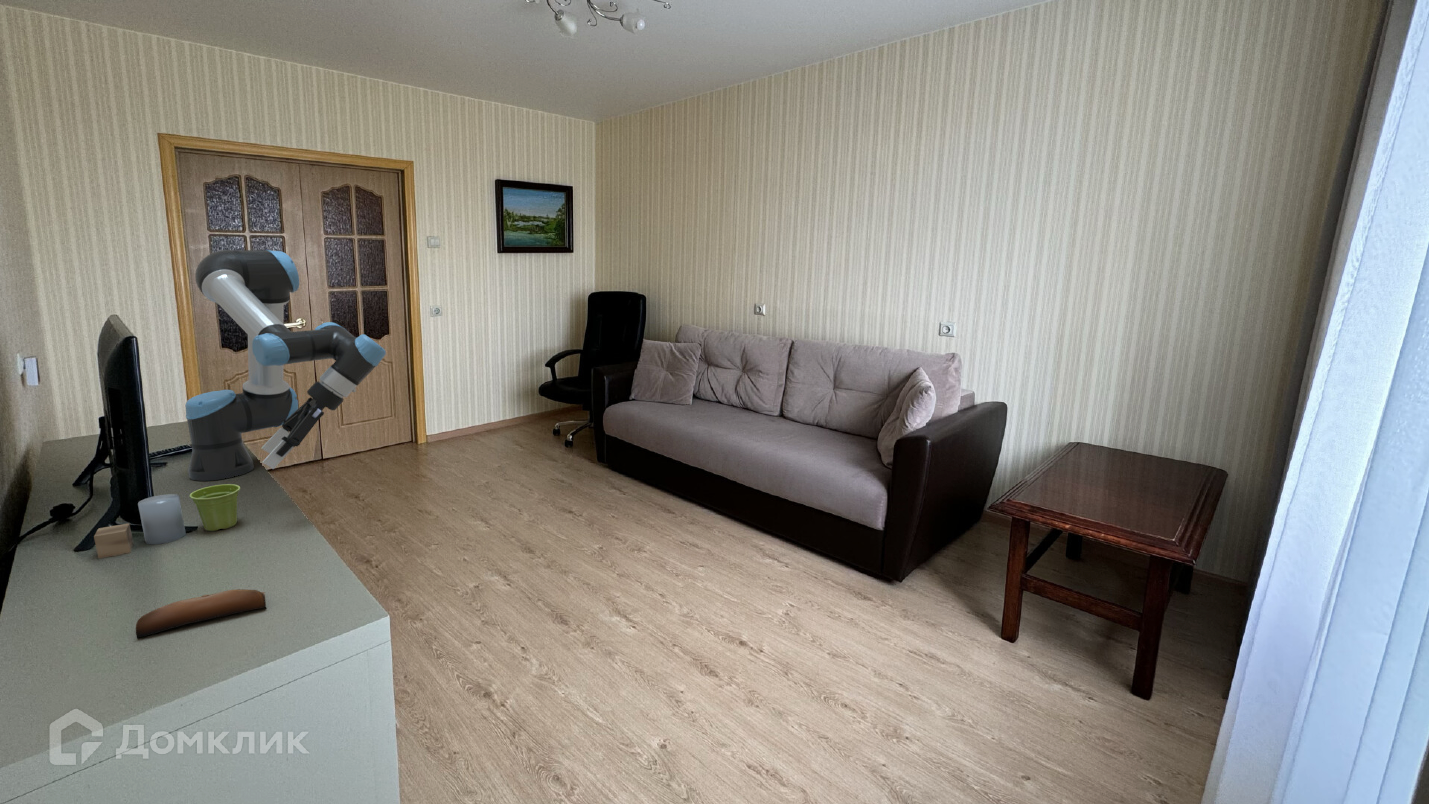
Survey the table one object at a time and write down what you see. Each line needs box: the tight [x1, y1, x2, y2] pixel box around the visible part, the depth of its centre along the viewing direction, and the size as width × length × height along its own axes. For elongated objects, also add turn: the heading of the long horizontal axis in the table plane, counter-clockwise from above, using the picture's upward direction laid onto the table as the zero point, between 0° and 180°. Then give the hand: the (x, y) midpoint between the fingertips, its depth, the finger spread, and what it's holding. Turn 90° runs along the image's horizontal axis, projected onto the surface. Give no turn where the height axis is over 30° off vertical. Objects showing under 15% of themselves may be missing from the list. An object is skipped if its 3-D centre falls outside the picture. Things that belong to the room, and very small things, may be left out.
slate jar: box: [137, 493, 187, 545], centre depth 147 cm, size 7×7×9 cm
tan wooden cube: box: [93, 523, 134, 559], centre depth 140 cm, size 5×5×5 cm
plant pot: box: [189, 483, 241, 532], centre depth 153 cm, size 9×9×9 cm
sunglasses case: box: [135, 588, 268, 639], centre depth 116 cm, size 18×7×7 cm
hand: (267, 458), depth 157 cm, fingers open, 13 cm apart
